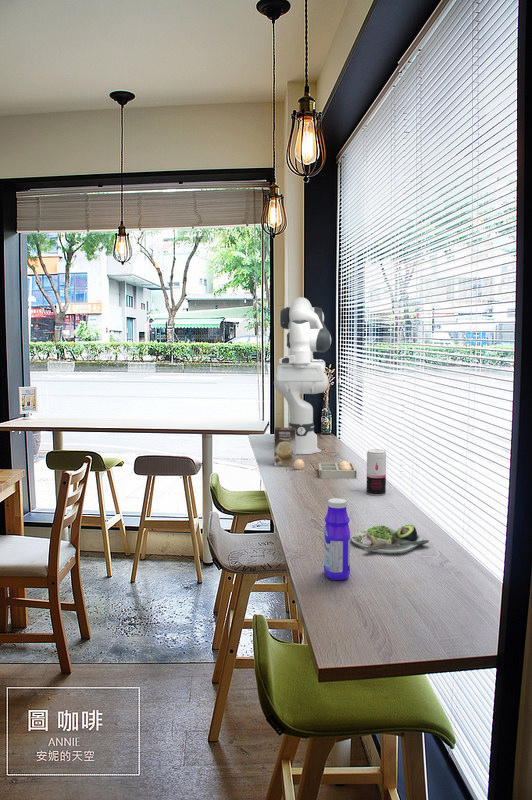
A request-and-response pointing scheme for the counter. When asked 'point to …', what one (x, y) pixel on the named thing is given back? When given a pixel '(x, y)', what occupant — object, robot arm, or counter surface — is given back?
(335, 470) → the carton
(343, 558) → the bottle
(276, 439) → the coffee box
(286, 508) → the counter surface
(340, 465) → the egg
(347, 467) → the egg
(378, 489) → the beverage can
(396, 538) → the avocado toast plate
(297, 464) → the egg
